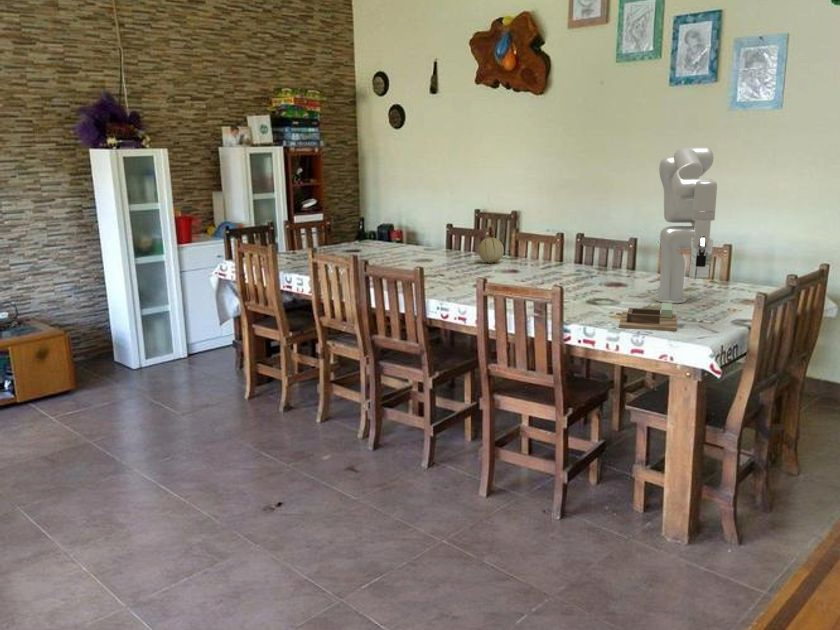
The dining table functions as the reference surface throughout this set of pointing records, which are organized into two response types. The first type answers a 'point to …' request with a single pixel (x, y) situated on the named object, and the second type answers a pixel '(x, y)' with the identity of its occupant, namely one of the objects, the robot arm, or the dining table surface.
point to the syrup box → (693, 269)
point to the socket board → (647, 320)
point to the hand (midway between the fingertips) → (700, 264)
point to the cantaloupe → (491, 250)
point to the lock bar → (666, 310)
